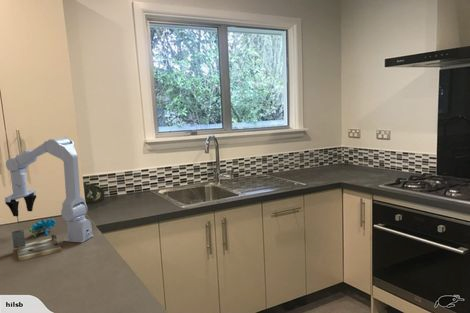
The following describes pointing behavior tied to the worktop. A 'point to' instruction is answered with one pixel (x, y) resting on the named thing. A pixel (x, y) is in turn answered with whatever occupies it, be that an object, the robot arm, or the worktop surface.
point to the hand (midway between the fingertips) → (23, 213)
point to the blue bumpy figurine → (42, 226)
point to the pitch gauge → (39, 248)
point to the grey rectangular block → (18, 239)
